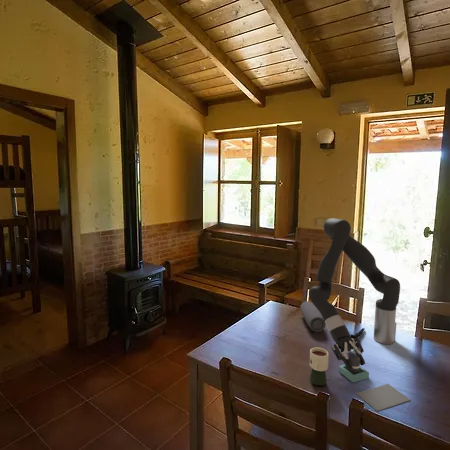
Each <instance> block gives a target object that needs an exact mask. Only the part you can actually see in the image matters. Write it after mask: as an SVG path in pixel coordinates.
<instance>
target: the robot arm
mask: <svg viewBox="0 0 450 450" xmlns="http://www.w3.org/2000/svg"><path fill="white" fill-rule="evenodd" d="M351 230H352V226H351V224H350V222H349V221H348V220H346V219H341V218H336V217H332V218H330V217H329V218H328V219H326V221H325V222H324V223H323V231H324V234H325V235H326V236H327V237H328V238H329V239H331V244H330V246H329V249H328V250H327V252H326V253H325V255H324V256H323V257H322V259H321V261H320V263H319V264H318V268H317V273H316V275H315V277H316V281H318V285H317V286H312V287H310V289H309V290H308V297H309V299H310V302H311V303H313V304H314V306H315V307H316V308H317V309H318V310H319V312H320V313H321V315H322V317H323V319H324V321H325V327H326V328H327V330H328V332H329V335H330V337H331V338H332V341H333V342H335V344H333V345H332V346H330V348H331V350H332V351H333V353H334V355H335V357H336V359H337V360H338V361H342V362H343V365H345V366H346V368H347V369H348V370H350V369H352V368H353V367H352V365H351V363H350V361H349V358H348V353H349V352H350V353H353V355H355V356H358V357H359V358H360V366H361V367H362V366H364V365H366V361H365V359H364V356H363V355H362V354H363V353H364V351H365V350H364V348H363V346H362V344H361V342H360V340H359V337H358V338H356V339H351V337H350V335H351V333H350V331H349V330H348V328H347V326H346V323H345V322H344V320H343V318H342V317H341V316H340V314H339V311H338V309H337V308H336V307H335V305H334V304H332V303H331V302H329V301H328V300H329V299H330V297H331V295H332V294H331V293H332V280H333V276H334V273H335V270H336V267H337V264H338V261H339V258H340V256H341V254H342V252H343V253H344V254H345V255H346V256H347V258H348V259H349V260H350V261H351V262H352V263H353V264H354V266H356V267H357V268H358V269H359V270H360V272H362V274H363V275H364V276H365V277H366V278H367V279H368V281H369V282H370V284H371V285H372V286H373V288H374V289H375V291H377V292H379V293H380V294H382V298H379V299H377V300H376V301H375V311H374V326H373V340H374V341H376V342H377V343H379V344H384V345H391V344H393V343H395V342H396V335H397V333H396V332H397V322H396V314H397V306H398V304H399V300H400V293H401V284H400V281H399V279H397V278H396V277H393V276H390V275H387V274H385V273H384V272H383V271H381V269H379V268H378V266H377V263H376V258H375V256H374V255H373V254H372V252H371V251H370V250H369V249H368V248H367V247H366V246H365V245H364V244H362V243H361V242H360V241H358V240H357V239H356V238H354V237H352V236H351V235H350V234H351Z"/></svg>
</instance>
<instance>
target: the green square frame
mask: <svg viewBox="0 0 450 450" xmlns="http://www.w3.org/2000/svg"><path fill="white" fill-rule="evenodd" d="M338 372H339V373H340V374H341V375H343V376H344V377H345V378H346V379H348V381H350V382H351V383H356V382H359V381H364V380H368V379H369V378H370V372H369V371H368V370H367V369H366V368H364V367H362V366H361V365H360V370H359V373H358V374H355V375H353V374H351V373H350V372H349V371H348V369H347V368H346V366H345V364H340V365H339V366H338Z"/></svg>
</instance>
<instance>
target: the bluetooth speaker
mask: <svg viewBox="0 0 450 450" xmlns="http://www.w3.org/2000/svg"><path fill="white" fill-rule="evenodd" d="M299 310H300V312H301V315H302V317H303V319H304V320H305V323H306V324H307V325H308V326H309V328H310V329H311V330H312V331H313V332H318V333H319V332H322V331H323V330H324V329H325V328H326V324H325V321H324V319H323V317H322V315H321V313H320V312H319V310H318V309H317V308H316V307H315V306H314V304H313V303H312V301H309V300H307V301H303V302H302V304H301V305H300V307H299Z"/></svg>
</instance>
